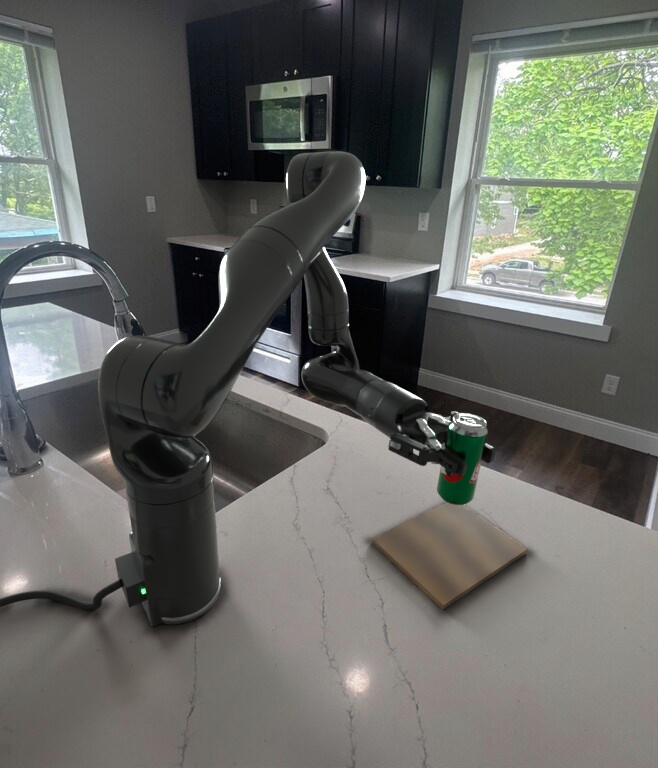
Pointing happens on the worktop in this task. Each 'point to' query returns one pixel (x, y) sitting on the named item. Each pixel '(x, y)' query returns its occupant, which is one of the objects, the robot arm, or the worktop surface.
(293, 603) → the worktop surface
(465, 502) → the soda can
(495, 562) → the wooden board
